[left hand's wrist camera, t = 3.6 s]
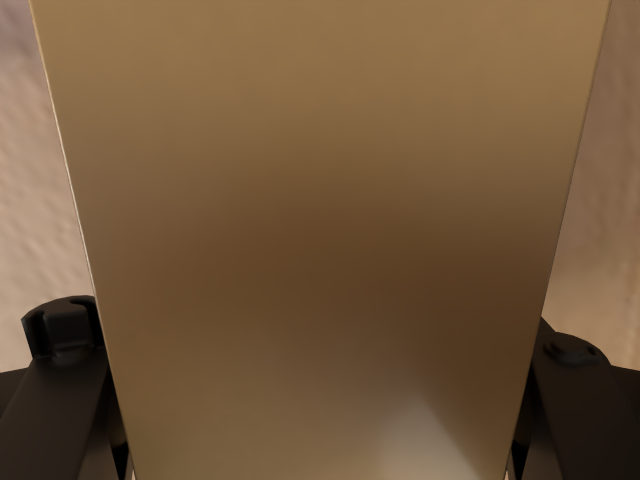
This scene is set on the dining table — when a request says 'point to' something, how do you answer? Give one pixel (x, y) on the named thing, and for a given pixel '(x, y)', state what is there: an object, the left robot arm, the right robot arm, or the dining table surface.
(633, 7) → the dining table surface
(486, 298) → the bar
